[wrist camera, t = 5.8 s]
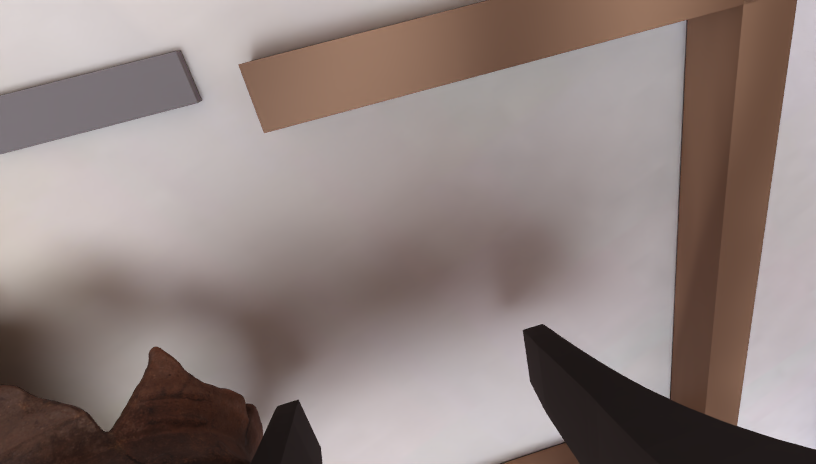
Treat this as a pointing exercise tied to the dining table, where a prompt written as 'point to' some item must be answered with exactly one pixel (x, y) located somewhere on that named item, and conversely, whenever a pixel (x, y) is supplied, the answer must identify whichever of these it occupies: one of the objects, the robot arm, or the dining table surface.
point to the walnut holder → (701, 140)
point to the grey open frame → (95, 101)
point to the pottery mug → (135, 424)
